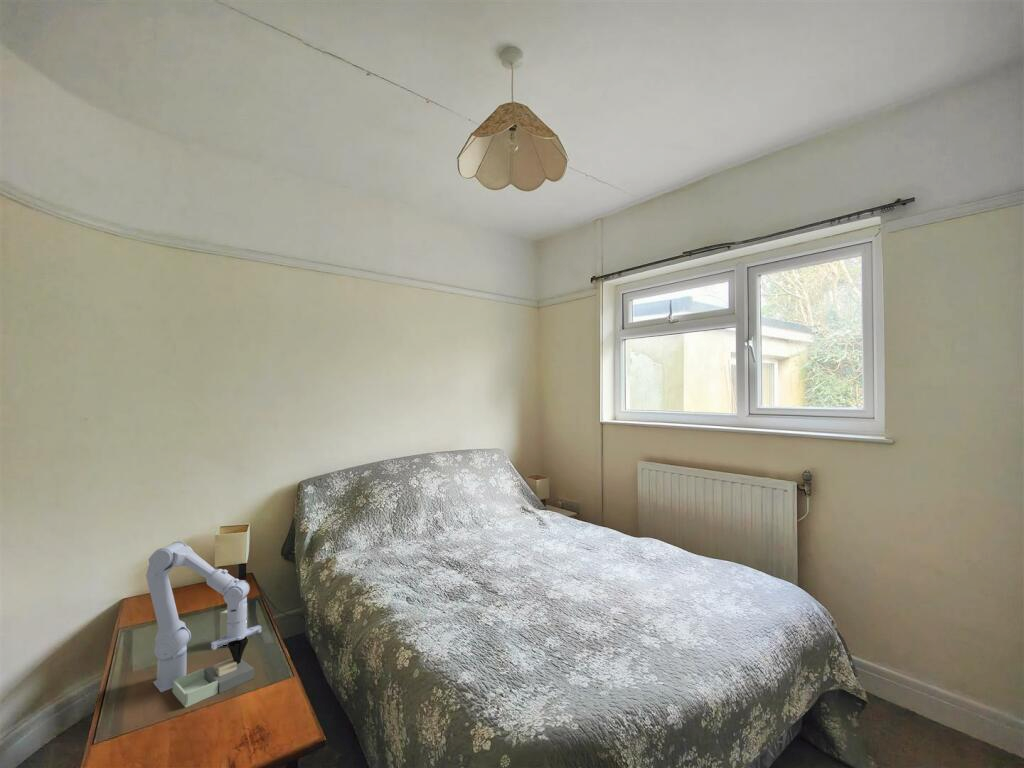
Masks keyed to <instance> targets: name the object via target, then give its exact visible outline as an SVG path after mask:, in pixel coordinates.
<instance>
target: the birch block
mask: <svg viewBox="0 0 1024 768" xmlns="http://www.w3.org/2000/svg"><path fill="white" fill-rule="evenodd" d="M213 666H214V672H215V673H216V674H217V675H218V676H222V675H224V674H226V673H229V672H231V671H234V670H236V669H237V663H236V662H235V661H234V660H233V659H231V658H229V659H226V660H223V661H221V662H218V663H216V664H213Z"/></svg>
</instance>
